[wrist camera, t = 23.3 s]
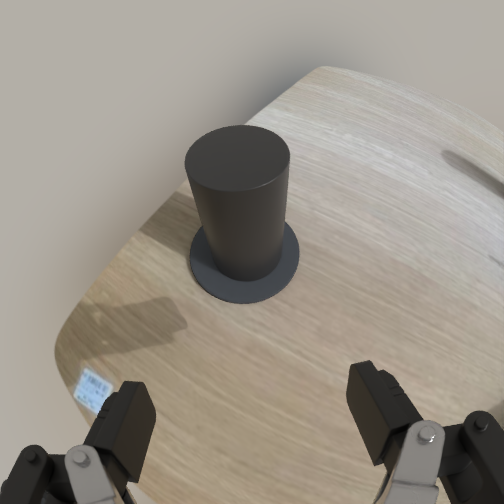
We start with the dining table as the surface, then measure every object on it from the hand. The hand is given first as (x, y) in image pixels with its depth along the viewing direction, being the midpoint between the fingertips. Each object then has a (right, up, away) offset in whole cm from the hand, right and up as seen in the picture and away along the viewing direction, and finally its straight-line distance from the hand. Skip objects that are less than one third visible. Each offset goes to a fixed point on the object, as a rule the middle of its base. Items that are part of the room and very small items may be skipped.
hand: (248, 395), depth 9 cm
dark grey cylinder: (0, +6, +13) cm, 14 cm away
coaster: (-1, +5, +13) cm, 15 cm away
